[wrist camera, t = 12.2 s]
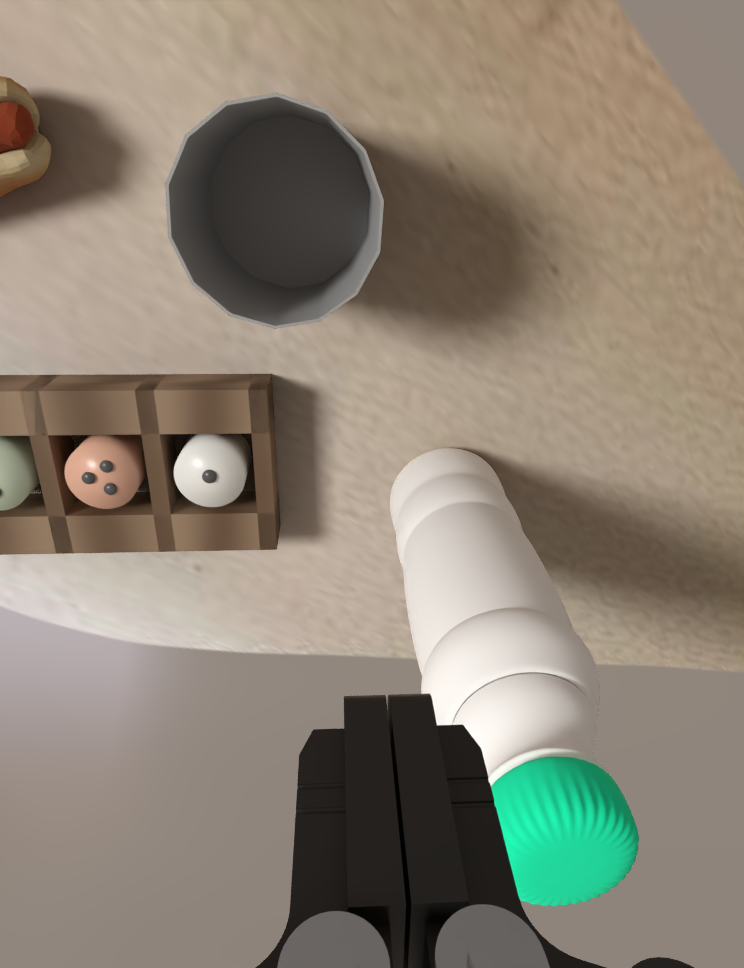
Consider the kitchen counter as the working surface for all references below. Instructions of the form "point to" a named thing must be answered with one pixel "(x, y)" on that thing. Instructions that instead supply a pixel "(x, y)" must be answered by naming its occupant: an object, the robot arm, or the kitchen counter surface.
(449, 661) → the water bottle
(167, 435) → the wooden compartment tray
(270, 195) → the cup
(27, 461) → the button two
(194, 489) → the button one
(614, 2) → the kitchen counter surface
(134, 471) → the button three
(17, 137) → the food
